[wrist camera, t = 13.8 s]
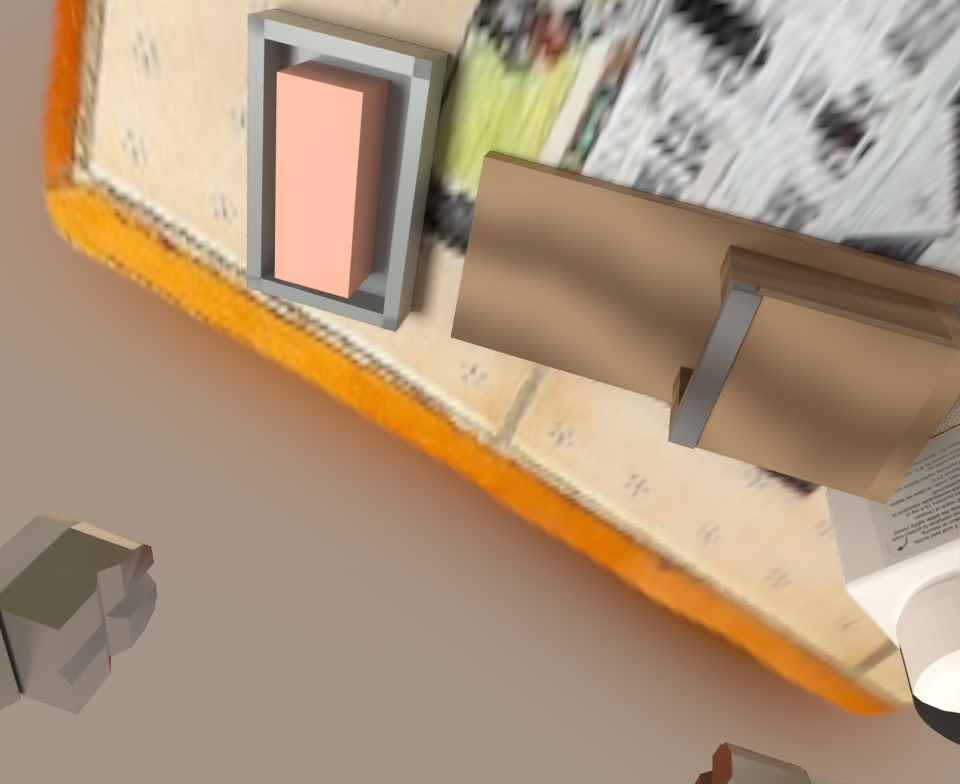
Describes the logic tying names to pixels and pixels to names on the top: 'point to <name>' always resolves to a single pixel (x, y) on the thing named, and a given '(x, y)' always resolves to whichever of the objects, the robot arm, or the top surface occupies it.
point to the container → (912, 573)
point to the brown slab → (716, 323)
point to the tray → (403, 165)
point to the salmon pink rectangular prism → (327, 175)
